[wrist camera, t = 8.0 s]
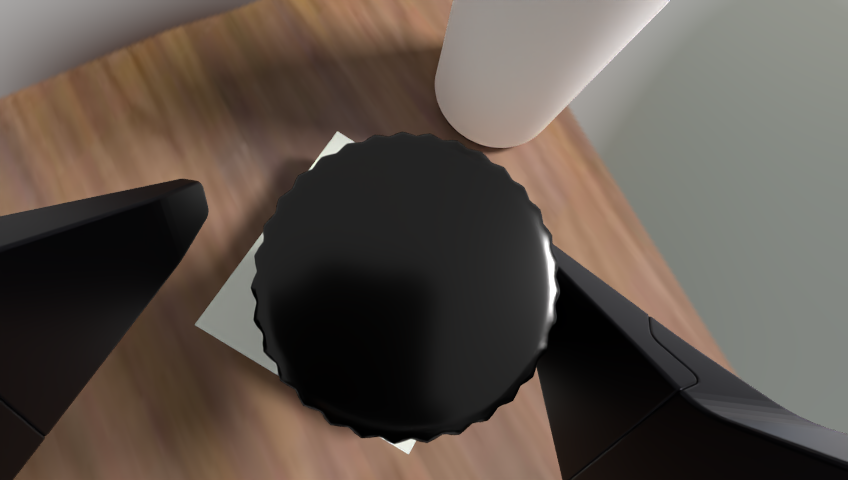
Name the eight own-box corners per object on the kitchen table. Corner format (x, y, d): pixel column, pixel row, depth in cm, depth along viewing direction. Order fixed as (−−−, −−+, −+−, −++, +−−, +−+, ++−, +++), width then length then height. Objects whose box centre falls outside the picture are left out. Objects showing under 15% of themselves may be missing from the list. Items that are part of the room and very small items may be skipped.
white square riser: (403, 420, 19) (408, 454, 15) (233, 317, 19) (194, 324, 15) (496, 254, 22) (521, 246, 18) (346, 160, 21) (337, 131, 18)
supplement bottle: (485, 304, 17) (709, 333, 5) (379, 387, 16) (350, 677, 4) (411, 200, 17) (459, 8, 6) (301, 273, 16) (67, 223, 4)
